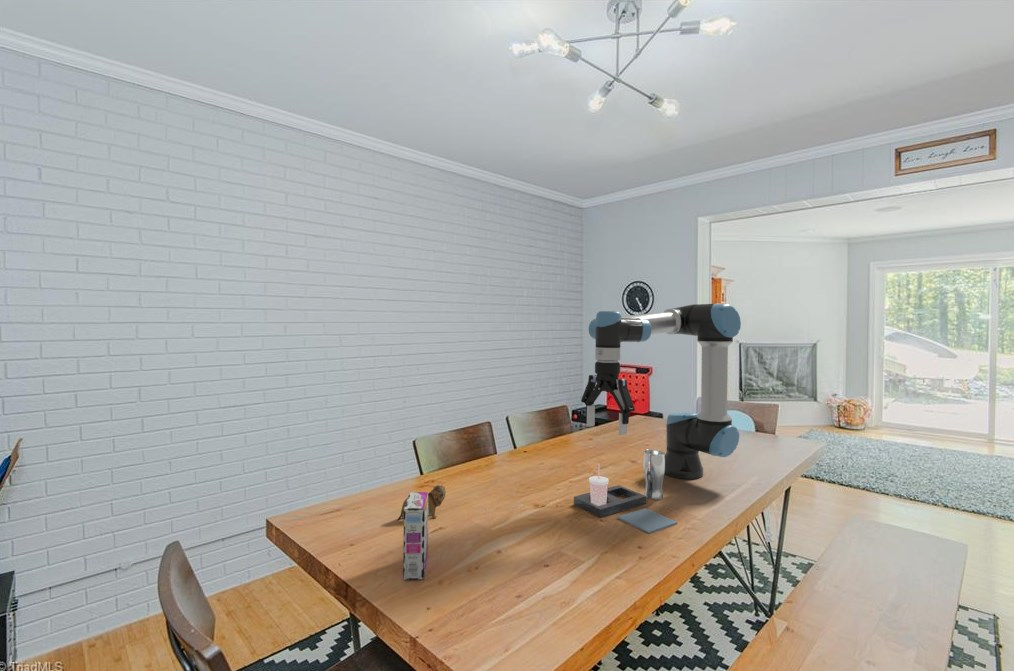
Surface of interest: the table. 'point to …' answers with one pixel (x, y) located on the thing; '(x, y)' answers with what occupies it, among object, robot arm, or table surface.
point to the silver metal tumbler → (654, 473)
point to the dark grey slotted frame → (611, 501)
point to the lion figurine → (431, 500)
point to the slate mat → (647, 520)
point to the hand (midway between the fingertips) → (606, 430)
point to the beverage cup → (598, 488)
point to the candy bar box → (415, 536)
